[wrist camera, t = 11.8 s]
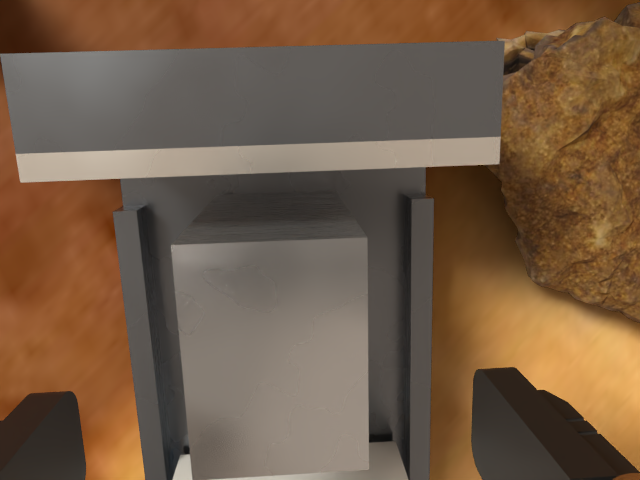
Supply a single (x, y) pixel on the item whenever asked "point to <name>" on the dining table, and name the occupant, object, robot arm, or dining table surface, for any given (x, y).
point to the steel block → (274, 335)
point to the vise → (266, 182)
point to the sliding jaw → (382, 476)
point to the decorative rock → (576, 158)
